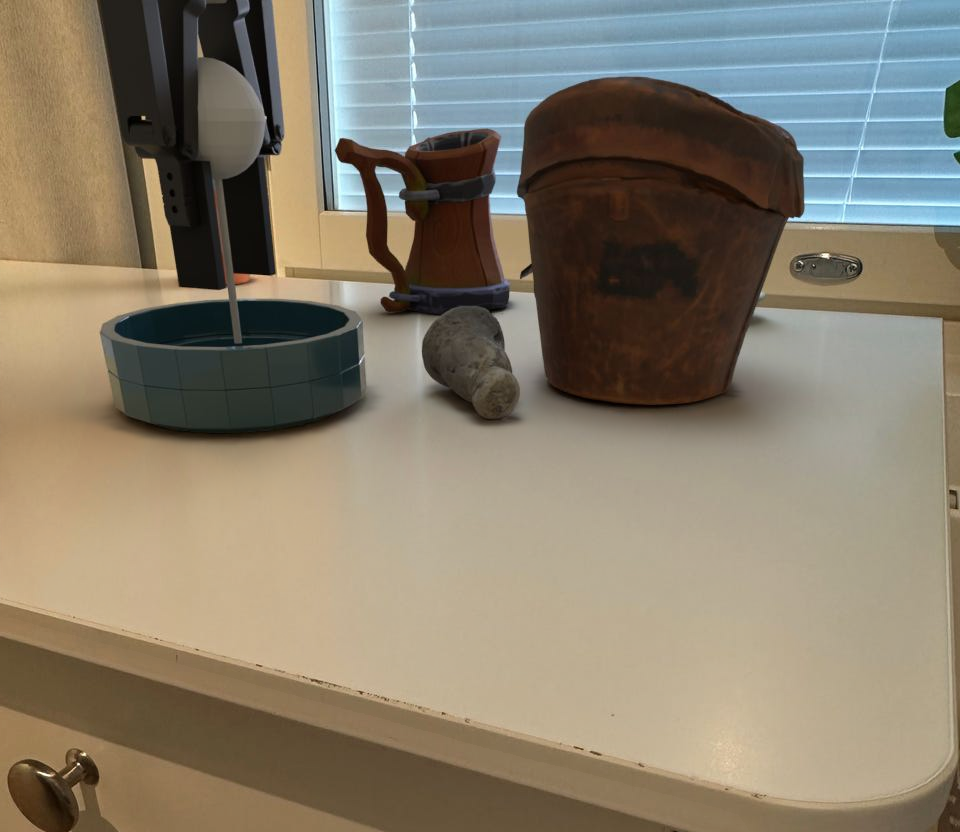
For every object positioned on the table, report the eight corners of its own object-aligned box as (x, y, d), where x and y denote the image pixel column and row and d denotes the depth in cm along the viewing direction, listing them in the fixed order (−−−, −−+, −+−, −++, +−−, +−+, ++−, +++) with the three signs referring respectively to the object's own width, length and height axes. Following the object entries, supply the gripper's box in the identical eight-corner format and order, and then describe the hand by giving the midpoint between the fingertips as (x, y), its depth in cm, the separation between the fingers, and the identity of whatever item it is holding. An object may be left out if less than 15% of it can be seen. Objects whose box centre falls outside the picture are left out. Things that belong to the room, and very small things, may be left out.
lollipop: (167, 344, 55) (120, 55, 47) (240, 328, 59) (206, 60, 51) (236, 358, 52) (197, 52, 44) (307, 341, 56) (282, 58, 48)
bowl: (61, 422, 53) (41, 336, 51) (210, 363, 66) (200, 292, 63) (290, 452, 49) (281, 360, 46) (403, 383, 62) (400, 307, 59)
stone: (522, 438, 54) (579, 332, 56) (464, 380, 51) (526, 270, 52) (429, 441, 62) (482, 348, 63) (374, 391, 58) (430, 295, 60)
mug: (389, 330, 76) (380, 130, 69) (315, 310, 84) (300, 128, 76) (535, 305, 87) (542, 129, 79) (458, 290, 94) (458, 127, 86)
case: (701, 346, 72) (736, 87, 63) (824, 417, 55) (895, 78, 46) (486, 353, 70) (490, 84, 60) (546, 430, 53) (563, 72, 43)
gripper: (99, -335, 33) (195, 311, 45) (323, -198, 48) (351, 263, 60) (-55, -311, 35) (75, 301, 47) (204, -187, 50) (254, 257, 62)
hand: (229, 279), depth 54 cm, fingers closed on lollipop, 5 cm apart
